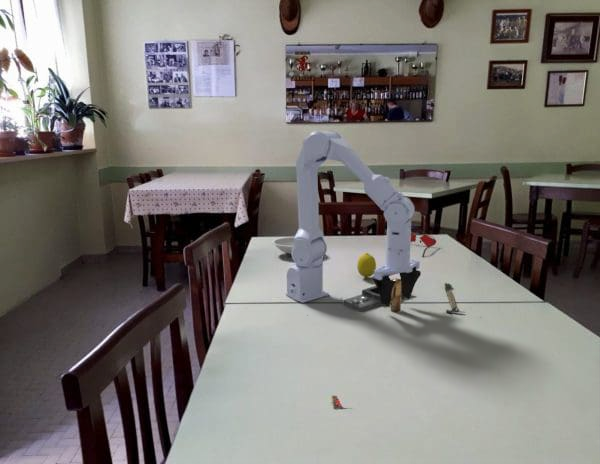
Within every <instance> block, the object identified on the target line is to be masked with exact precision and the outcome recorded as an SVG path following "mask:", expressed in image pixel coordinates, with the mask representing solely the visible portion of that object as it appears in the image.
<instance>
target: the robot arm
mask: <svg viewBox="0 0 600 464" xmlns="http://www.w3.org/2000/svg"><path fill="white" fill-rule="evenodd" d="M326 160H329V161H330V160H332V161H336V162H341V163H342V164H343V165H344V166H345V167H346V168H347V169H348V170H349V171H350V172H351V173H352V174H353V175H354V176H355V177H357V178H358V179H359V180H360V181H361V182H362V183H363V188H364V189H363V190H364V193H365V194H366V195H367V196H368V197H369V198H370V199H371V200H372V201H373V202H374V203H375V205H377V207H379V209H380V210H381V211H383V218H384V219H385V221H386V222H387V223H386V225H387V227H386V228H387V229H386V242H385V243H386V245H385V263H384V264H383V265H382V266H380V267H379V268H376V269H375V270H374V274H373V275H372V280H373V283H374V284H375V286H377V288H378V291H379V294H380V299H381V303H382V304H381V305H383V306H386V307H389V306H390V307H391V293H392V289H393V286H394V284H395V281H393V280H392V279H391V276H395V275H397V274H399V277H400V278H399V279H401V280H402V288H401V291H402V293H401V298H405V299H408V300H409V299H411V297H412V295H413V294H412V293H413V291H414V288H415V285H416V283H417V281H418V280H419V278H420V277H421V271H420V270H418V269H420V260H416V259H411V246H412V245H411V244H412V242H411V233H412V229H411V228H412V218H413V216H414V214H415V204H414V203H413V202H412V200H411V198H409V197H406V196H404V194H403V193H402V191H401V192H399V191H398V190H397V189H396V188H395V187H394V186H393V185H392V184H391V182H390V181H391V179H390V178H389V177H388V176H383V174H375V173H374V172H373V170H371V168H369V166H368V165H367V164H366V163H365V162H364V160H362V158H361V157H360V155H358V154H357V152H356V151H355V150H354V149H353V147H351V145H350V144H349V142H348V141H347V140H346V139H345V138H343V137H342V136H341V135H340V134H339V132H337V131H334V130H330V131H329V130H328V131H316V130H315V131H312V132H311V133H309V134H308V135H307V136H306V137H305V138H304V139H303V140H302V147H301V150H300V151H299V153H298V157H297V159H296V161H295V162H296V163H295V165H296V167H295V169H296V189H297V190H296V193H297V194H296V195H297V214H298V215H297V216H298V230H297V232H296V234H295V235H294V236H293V237H294V246H293V248H292V251H291V258H292V261H293V262H294V263H295V265H293V266H292V267H290V268H288V269H287V271H286V292H285V293H284V294H285V296H288V297H290V298H292V299H293V300H296V301H298V302H299V303H303V304H304V303H306V302H310V301H313V300H316V299H320V298H324V297H327V296H330V292H328V291H325V290H323V289H324V288H323V287H324V283H323V281H324V280H323V279H324V277H323V270H324V269H323V267H324V266H323V265H324V264H323V263H324V262H323V261H324V259H323V258H324V256H325V254H326V253H327V250H328V247H327V246H328V245H327V243H326V241H325V239H324V233H323V232H324V231H322V229H321V228H320V217H319V216H320V215H319V186H318V185H319V183H318V182H319V181H318V178H319V177H318V169H319V168H320V167H321V166H322V165H323V164H324V163H325V162H326Z"/></svg>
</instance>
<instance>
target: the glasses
mask: <svg viewBox="0 0 600 464" xmlns="http://www.w3.org/2000/svg"><path fill="white" fill-rule="evenodd" d="M418 235H419V236H420V237H419V242H420V244H422V243H423V244H424V246H426V247H425V248H424V250H423V253H422V255H421V258H422V257H423V258H424V256H425V253H426V251H427V250H428V249H429V248H430V247H432V246H435V245H436V243H437V240H436V238H435V237H434V236H432V235H430V234H429V235H428V234H420V233H412V232H411V243H416V239H417V236H418Z"/></svg>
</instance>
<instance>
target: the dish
mask: <svg viewBox="0 0 600 464" xmlns="http://www.w3.org/2000/svg"><path fill="white" fill-rule="evenodd" d="M294 237H295V236H290V237H289V236H287V237H278V238H276V239H273V240H271V243H272V244H273V245H274V246H276V248H277V249H278V250H280V251H282V252H283V253H285V254H291V251H292V248H293V246H294Z"/></svg>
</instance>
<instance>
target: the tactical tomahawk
mask: <svg viewBox="0 0 600 464" xmlns="http://www.w3.org/2000/svg"><path fill="white" fill-rule="evenodd" d="M452 286H453V285H452V284H451V283H447V282H445V283H444V289H445V294H446V297H447V299H448V303H449V305H450V307H451V310H449V309H446V311H445V312H446V314H448V315H454V316H455V315H457V316H467V314H466V311H463V313H462V312H461V311H460V308H457V305H456V301H455V296H454V294H453V291H452ZM464 313H465V314H464Z"/></svg>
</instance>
